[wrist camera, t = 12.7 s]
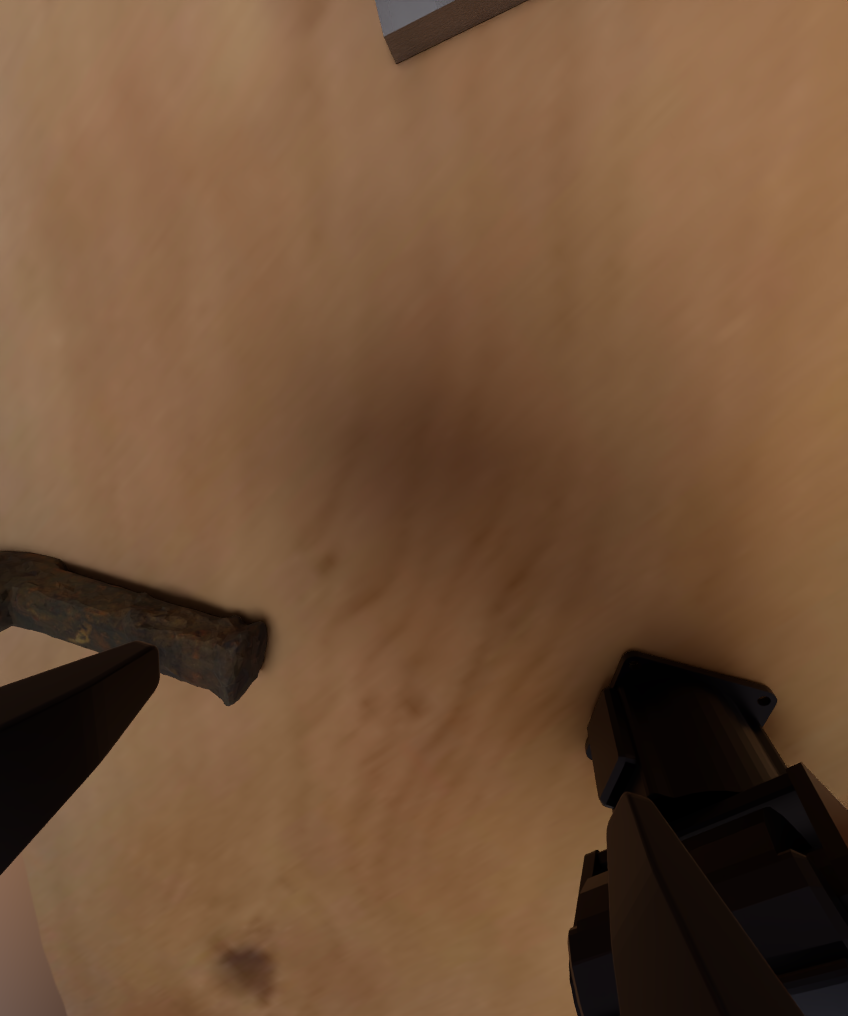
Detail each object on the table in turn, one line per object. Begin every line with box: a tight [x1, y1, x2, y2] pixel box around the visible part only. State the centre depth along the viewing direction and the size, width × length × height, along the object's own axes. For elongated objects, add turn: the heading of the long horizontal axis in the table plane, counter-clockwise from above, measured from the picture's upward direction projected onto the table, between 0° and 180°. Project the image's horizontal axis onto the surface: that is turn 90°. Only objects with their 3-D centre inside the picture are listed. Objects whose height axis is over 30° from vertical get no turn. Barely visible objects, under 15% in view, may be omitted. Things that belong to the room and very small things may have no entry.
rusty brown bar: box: [0, 551, 267, 706], centre depth 25 cm, size 19×4×5 cm, turn 76°
